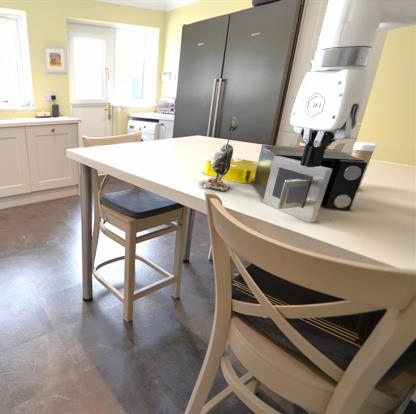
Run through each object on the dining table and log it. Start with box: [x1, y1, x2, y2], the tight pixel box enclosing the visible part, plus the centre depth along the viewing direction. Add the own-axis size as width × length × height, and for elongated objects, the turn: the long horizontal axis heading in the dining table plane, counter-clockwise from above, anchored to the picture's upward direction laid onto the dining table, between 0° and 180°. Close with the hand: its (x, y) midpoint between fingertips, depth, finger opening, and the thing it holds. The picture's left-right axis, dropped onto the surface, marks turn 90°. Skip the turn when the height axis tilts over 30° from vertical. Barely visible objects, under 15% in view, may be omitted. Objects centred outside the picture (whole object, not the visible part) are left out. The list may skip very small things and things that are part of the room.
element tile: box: [203, 156, 258, 184], centre depth 94 cm, size 15×15×5 cm
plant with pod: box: [201, 115, 239, 192], centre depth 79 cm, size 8×11×20 cm
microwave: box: [252, 144, 367, 212], centre depth 73 cm, size 16×18×12 cm
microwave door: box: [262, 156, 332, 223], centre depth 63 cm, size 8×13×12 cm, turn 17°
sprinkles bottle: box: [350, 141, 377, 192], centre depth 81 cm, size 5×5×14 cm
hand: (310, 165), depth 56 cm, fingers closed
